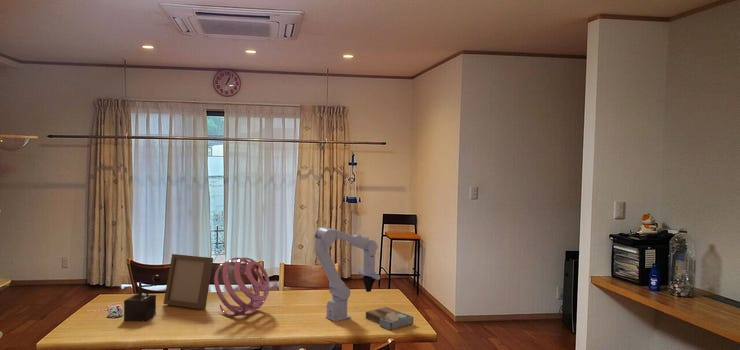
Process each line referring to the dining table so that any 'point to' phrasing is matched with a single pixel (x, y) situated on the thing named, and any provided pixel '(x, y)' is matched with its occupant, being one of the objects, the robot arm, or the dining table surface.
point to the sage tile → (401, 316)
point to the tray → (396, 323)
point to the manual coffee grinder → (141, 304)
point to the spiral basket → (243, 286)
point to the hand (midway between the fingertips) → (368, 291)
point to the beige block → (391, 317)
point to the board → (379, 314)
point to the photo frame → (188, 281)
